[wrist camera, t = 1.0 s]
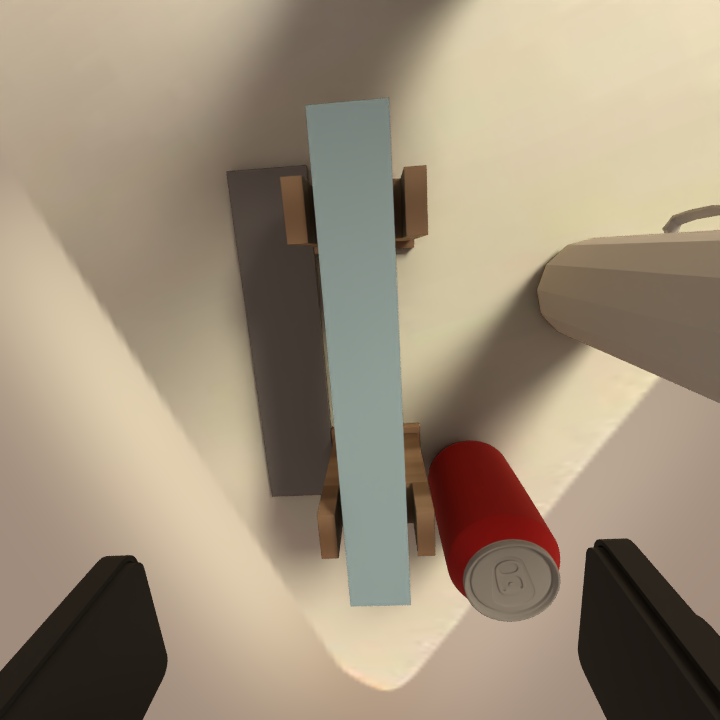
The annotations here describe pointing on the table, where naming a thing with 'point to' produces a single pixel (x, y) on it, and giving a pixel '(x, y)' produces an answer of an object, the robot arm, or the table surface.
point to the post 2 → (416, 499)
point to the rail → (363, 339)
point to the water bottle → (644, 300)
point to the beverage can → (492, 533)
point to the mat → (283, 333)
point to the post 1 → (405, 199)
